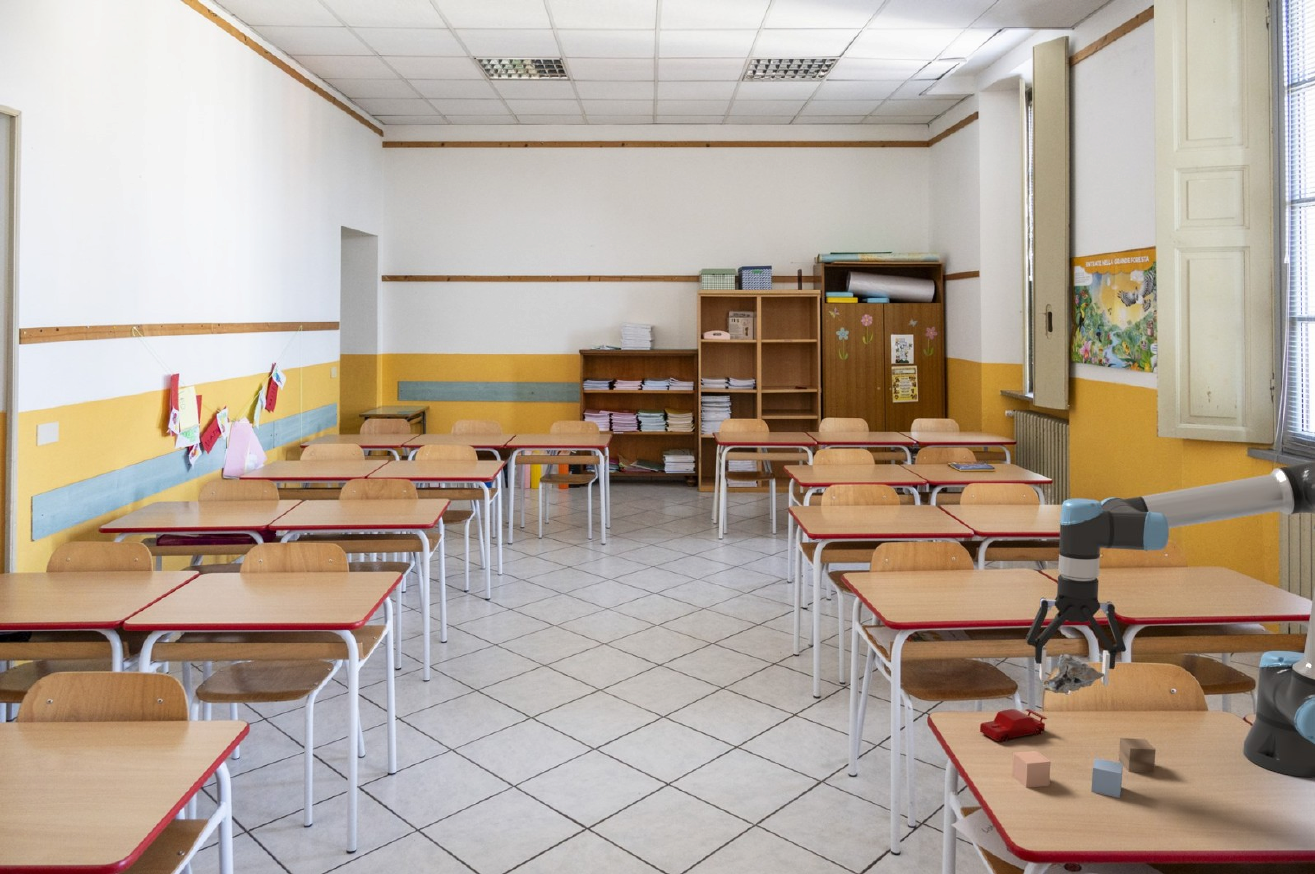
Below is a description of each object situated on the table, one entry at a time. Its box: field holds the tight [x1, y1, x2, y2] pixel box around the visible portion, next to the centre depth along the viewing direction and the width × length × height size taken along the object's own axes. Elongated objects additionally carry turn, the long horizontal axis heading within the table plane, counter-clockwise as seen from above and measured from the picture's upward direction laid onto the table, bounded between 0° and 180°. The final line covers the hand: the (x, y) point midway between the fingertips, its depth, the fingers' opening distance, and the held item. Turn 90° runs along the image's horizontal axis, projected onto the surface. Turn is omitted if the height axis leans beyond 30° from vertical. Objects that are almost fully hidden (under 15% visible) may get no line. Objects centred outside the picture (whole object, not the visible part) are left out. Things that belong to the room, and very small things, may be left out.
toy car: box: [979, 708, 1048, 743], centre depth 215 cm, size 14×6×5 cm, turn 113°
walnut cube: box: [1118, 737, 1156, 773], centre depth 200 cm, size 5×5×5 cm
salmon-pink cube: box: [1011, 750, 1051, 788], centre depth 193 cm, size 5×5×5 cm
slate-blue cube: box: [1090, 757, 1124, 798], centre depth 189 cm, size 5×5×5 cm
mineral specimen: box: [1043, 653, 1104, 694], centre depth 196 cm, size 10×8×10 cm
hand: (1073, 681), depth 197 cm, fingers closed on mineral specimen, 11 cm apart
